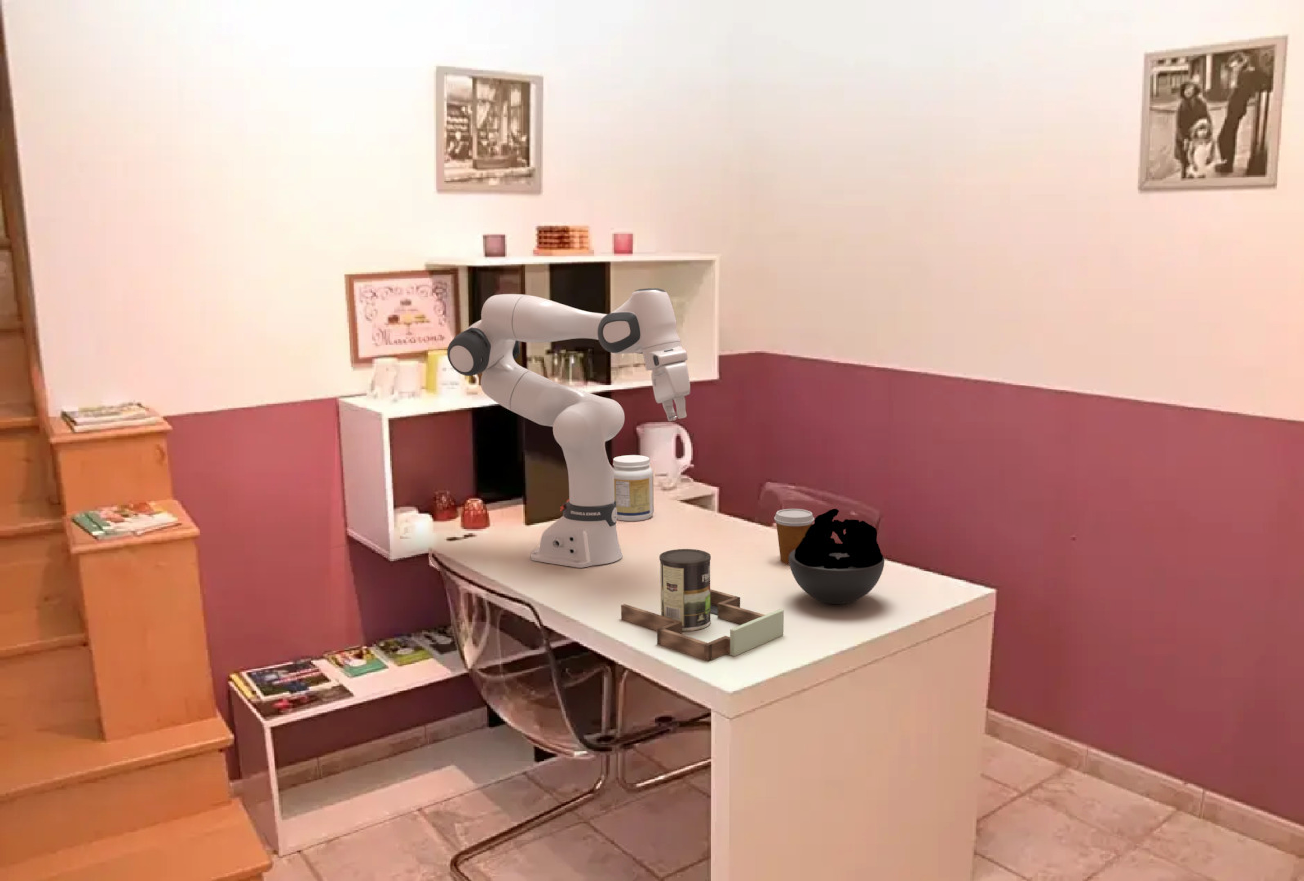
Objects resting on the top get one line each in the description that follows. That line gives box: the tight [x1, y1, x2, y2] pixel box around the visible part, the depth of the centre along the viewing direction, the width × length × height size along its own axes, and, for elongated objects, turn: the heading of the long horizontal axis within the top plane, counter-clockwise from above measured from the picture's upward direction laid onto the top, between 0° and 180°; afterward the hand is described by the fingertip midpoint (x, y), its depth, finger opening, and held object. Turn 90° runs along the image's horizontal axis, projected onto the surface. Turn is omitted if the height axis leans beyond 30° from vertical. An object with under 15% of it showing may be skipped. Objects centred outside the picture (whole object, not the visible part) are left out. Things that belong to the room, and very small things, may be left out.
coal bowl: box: [788, 508, 885, 605], centre depth 223 cm, size 20×20×19 cm
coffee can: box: [658, 548, 712, 632], centre depth 212 cm, size 10×10×14 cm
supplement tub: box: [612, 454, 655, 522], centre depth 298 cm, size 12×12×17 cm
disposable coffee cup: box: [773, 508, 815, 566], centre depth 253 cm, size 10×10×12 cm
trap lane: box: [620, 588, 765, 662], centre depth 211 cm, size 29×25×3 cm
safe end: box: [729, 608, 785, 657], centre depth 200 cm, size 1×15×5 cm, turn 136°
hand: (677, 419), depth 234 cm, fingers open, 8 cm apart
